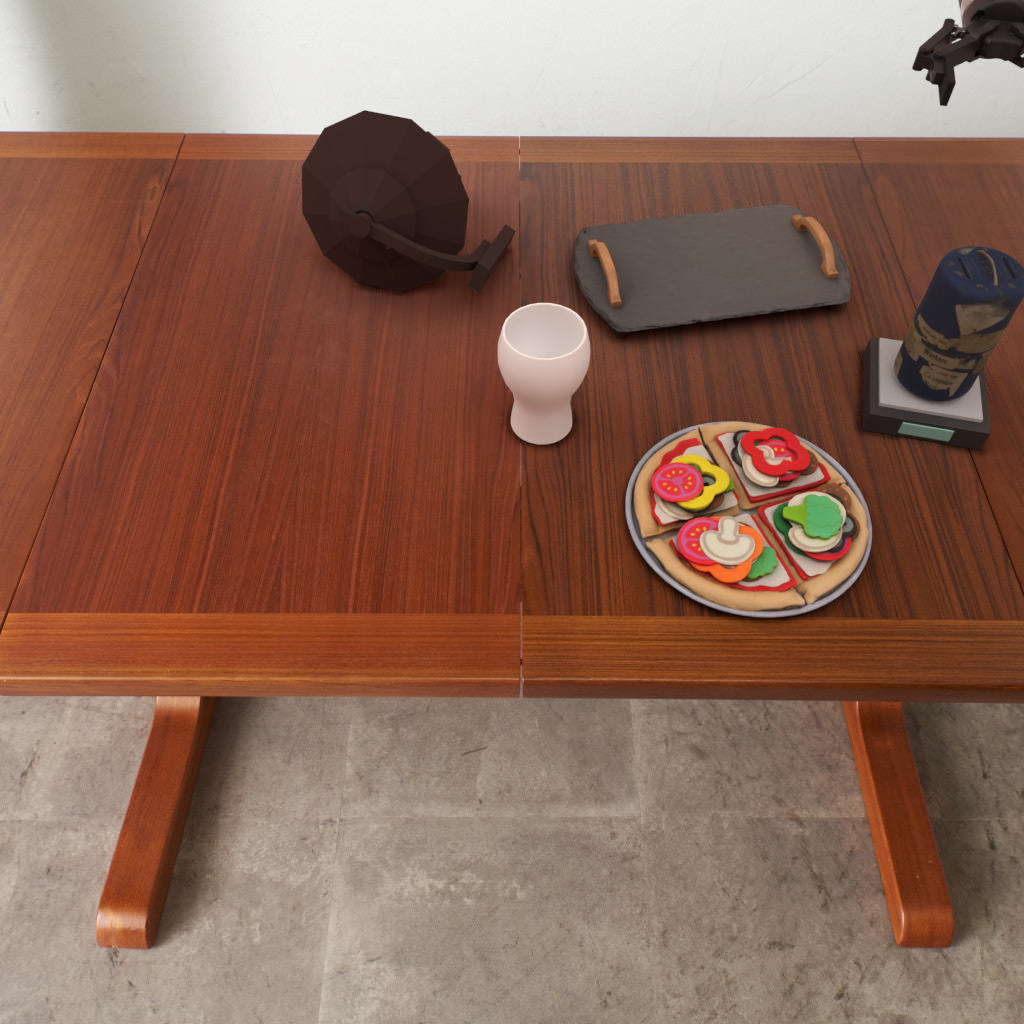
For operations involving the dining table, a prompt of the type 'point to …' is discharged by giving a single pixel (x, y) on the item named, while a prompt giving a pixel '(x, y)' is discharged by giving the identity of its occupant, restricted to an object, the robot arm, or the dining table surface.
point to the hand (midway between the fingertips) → (1010, 101)
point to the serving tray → (708, 267)
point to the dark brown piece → (391, 205)
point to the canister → (959, 322)
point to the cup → (543, 368)
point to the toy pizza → (748, 519)
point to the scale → (919, 404)
